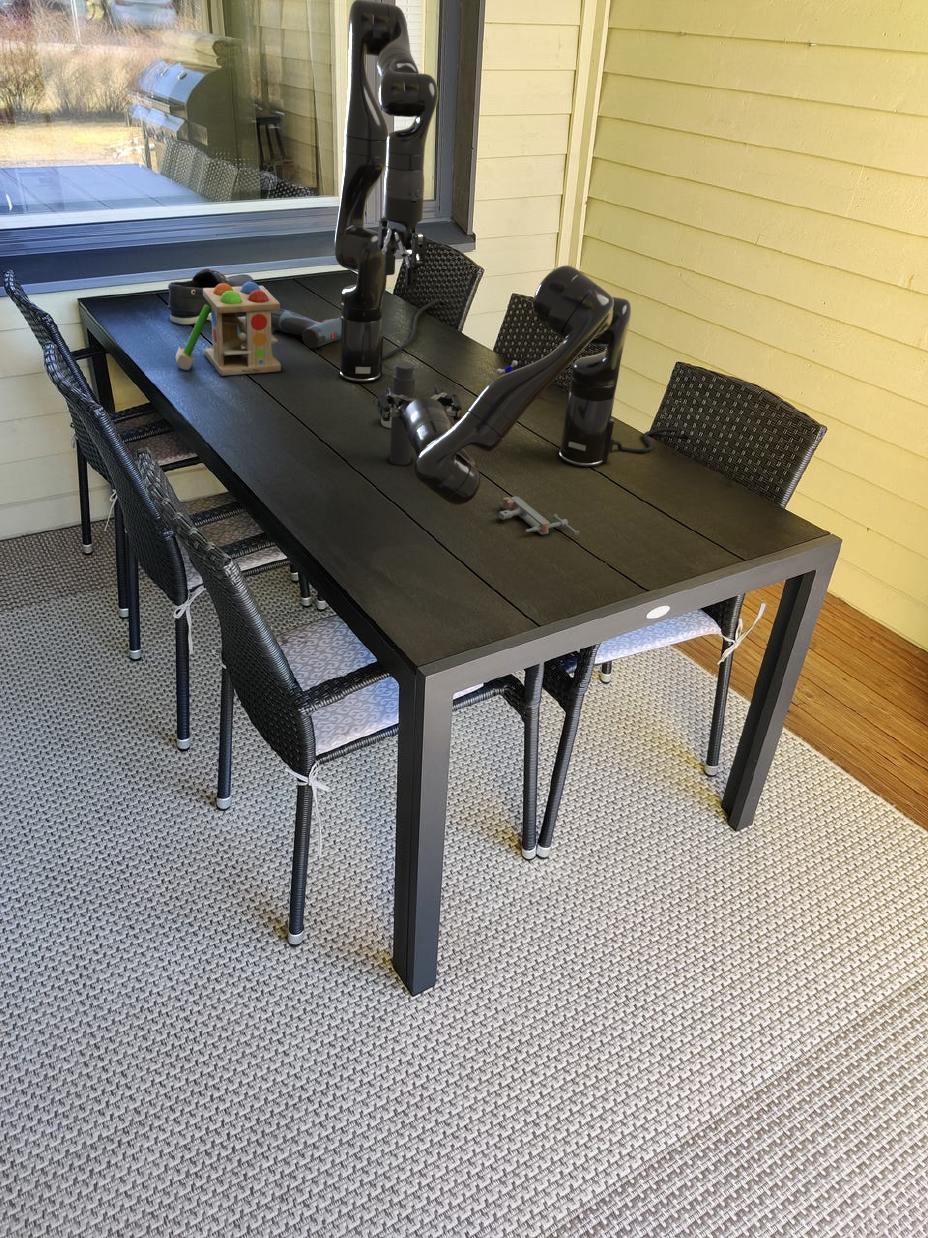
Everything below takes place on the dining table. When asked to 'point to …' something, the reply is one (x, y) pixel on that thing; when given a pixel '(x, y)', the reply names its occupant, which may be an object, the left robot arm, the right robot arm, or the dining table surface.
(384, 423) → the lid
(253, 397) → the dining table surface
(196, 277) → the boat shoe
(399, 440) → the bottle
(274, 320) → the power drill
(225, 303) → the pounding bench toy
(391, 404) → the right robot arm
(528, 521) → the clamp
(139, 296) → the dining table surface
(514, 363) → the molecular model
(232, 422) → the dining table surface
